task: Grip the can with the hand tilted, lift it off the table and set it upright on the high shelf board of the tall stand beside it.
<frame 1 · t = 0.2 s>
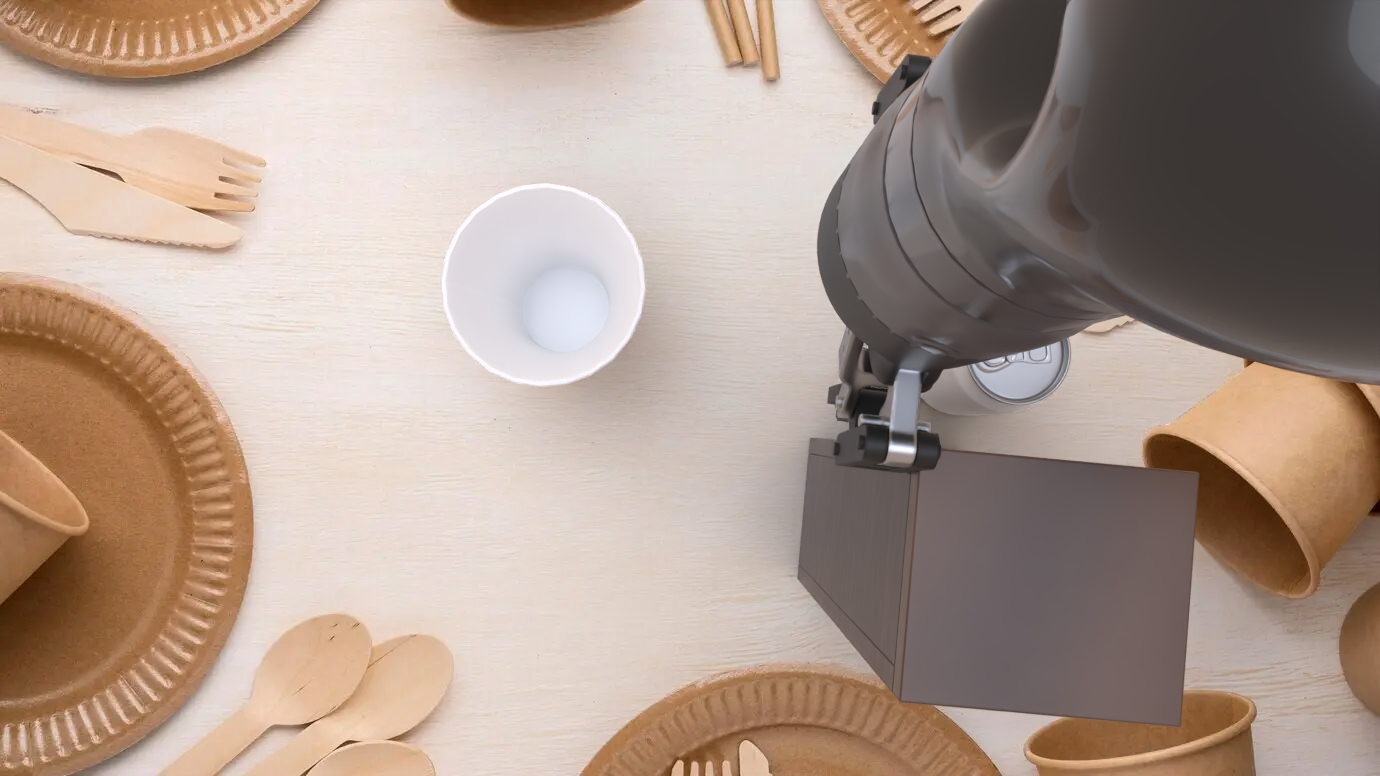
hand: (863, 298, 45), 23 cm above the table, tool pointing down, fingers open, 8 cm apart
cup: (569, 313, 67), on the table
shelf frame: (881, 515, 67), on the table
can: (956, 365, 68), on the table
shelf: (1044, 584, 38), resting on shelf frame
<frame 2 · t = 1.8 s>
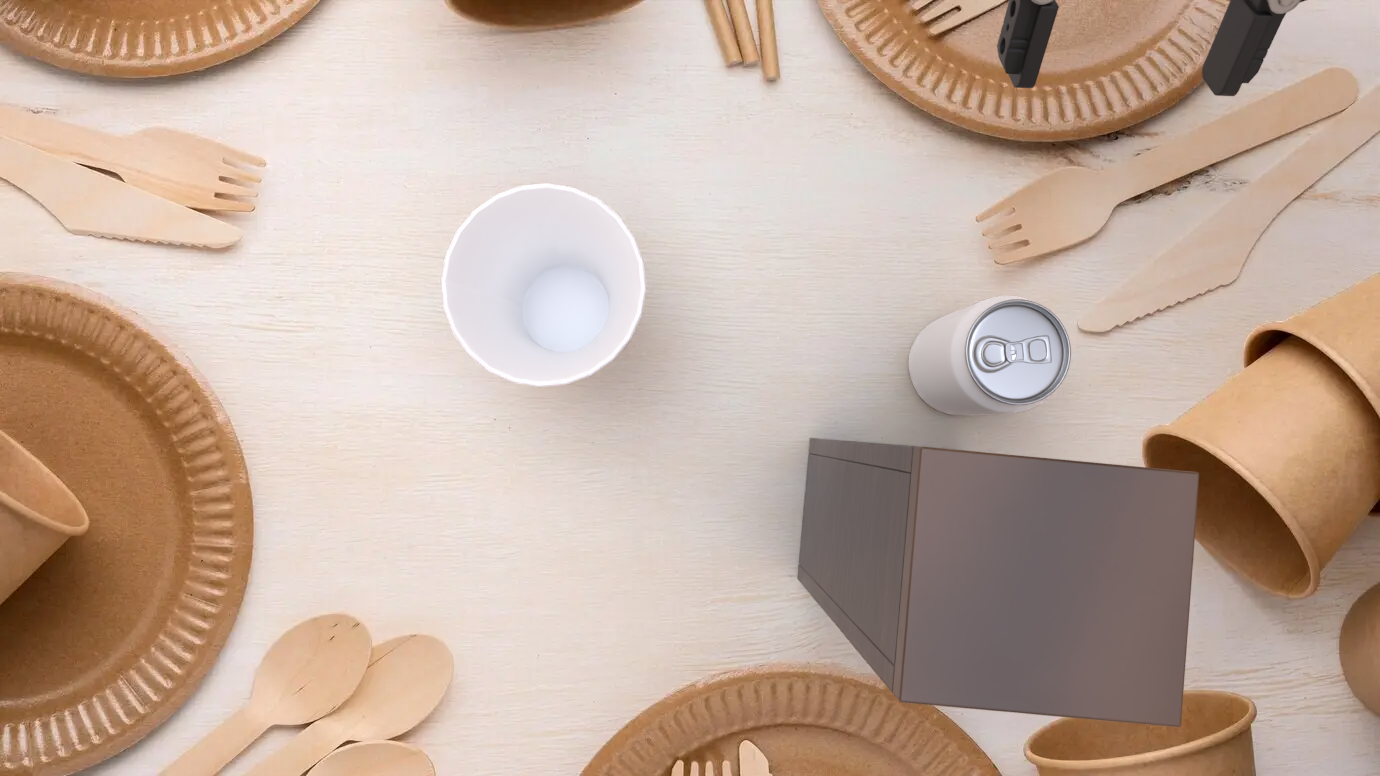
hand: (1118, 83, 45), 23 cm above the table, tool tilted 45°, fingers open, 8 cm apart
nothing on the table moved.
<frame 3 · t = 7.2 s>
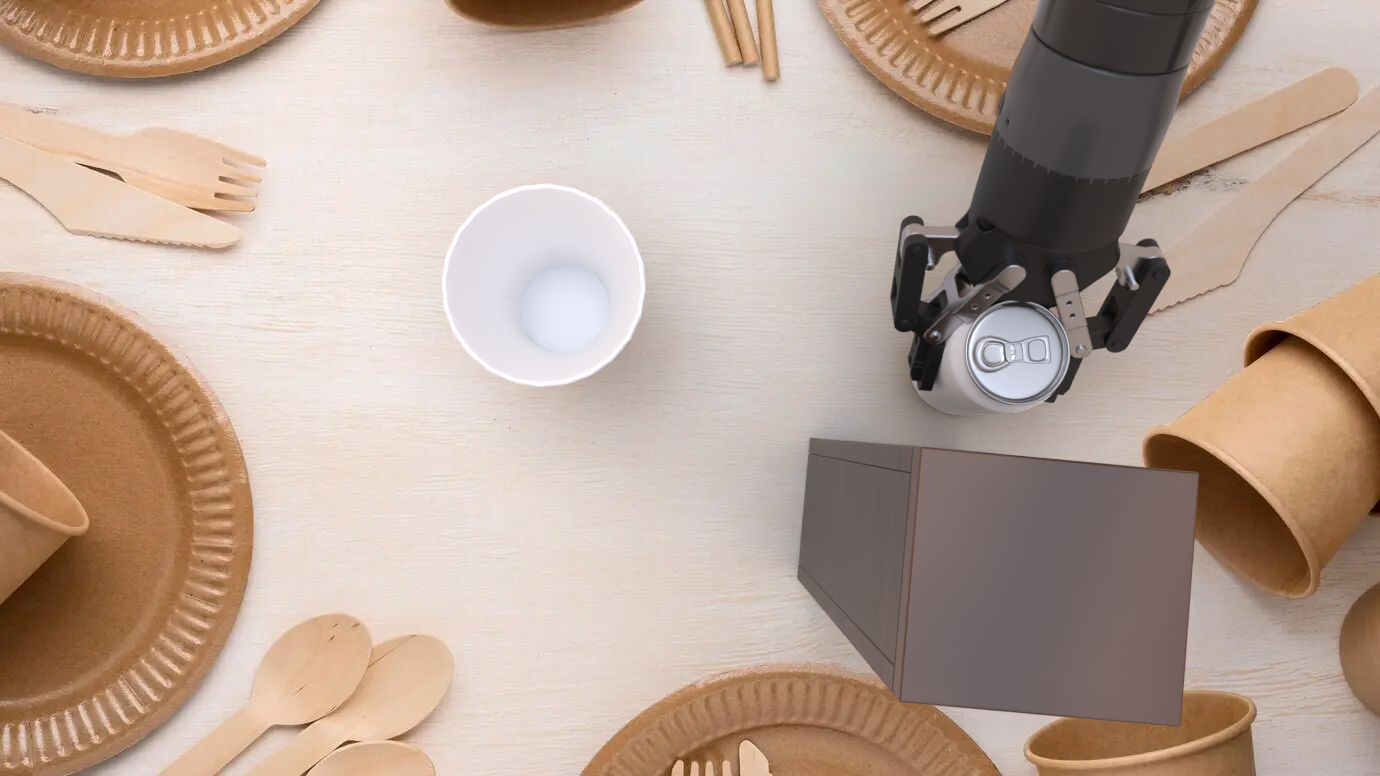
hand: (983, 386, 61), 6 cm above the table, tool tilted 45°, fingers closed on can, 6 cm apart
can: (956, 365, 68), on the table, touching gripper
everything else where it was.
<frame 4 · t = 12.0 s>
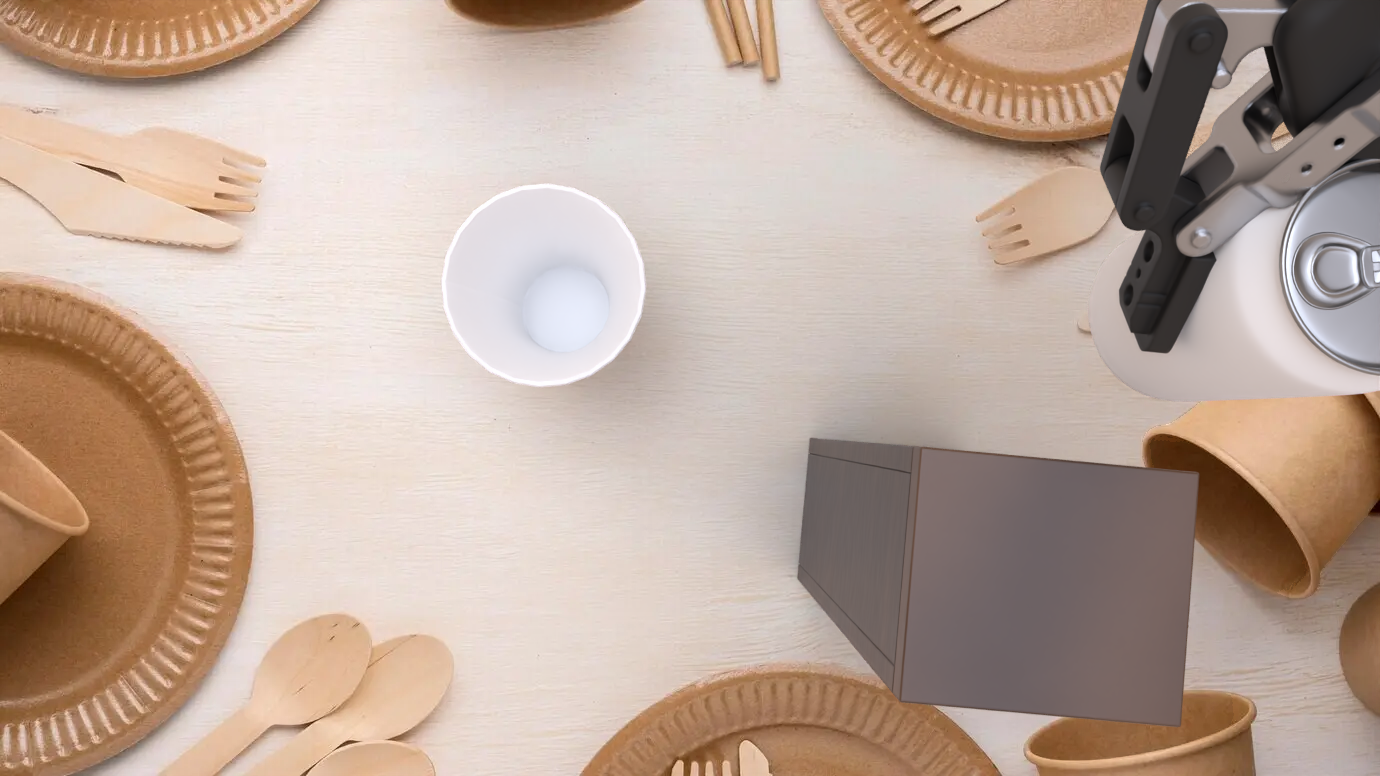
hand: (1261, 345, 32), 35 cm above the table, tool tilted 45°, fingers closed on can, 6 cm apart
can: (1168, 314, 39), point 29 cm above the table, touching gripper
everything else where it was.
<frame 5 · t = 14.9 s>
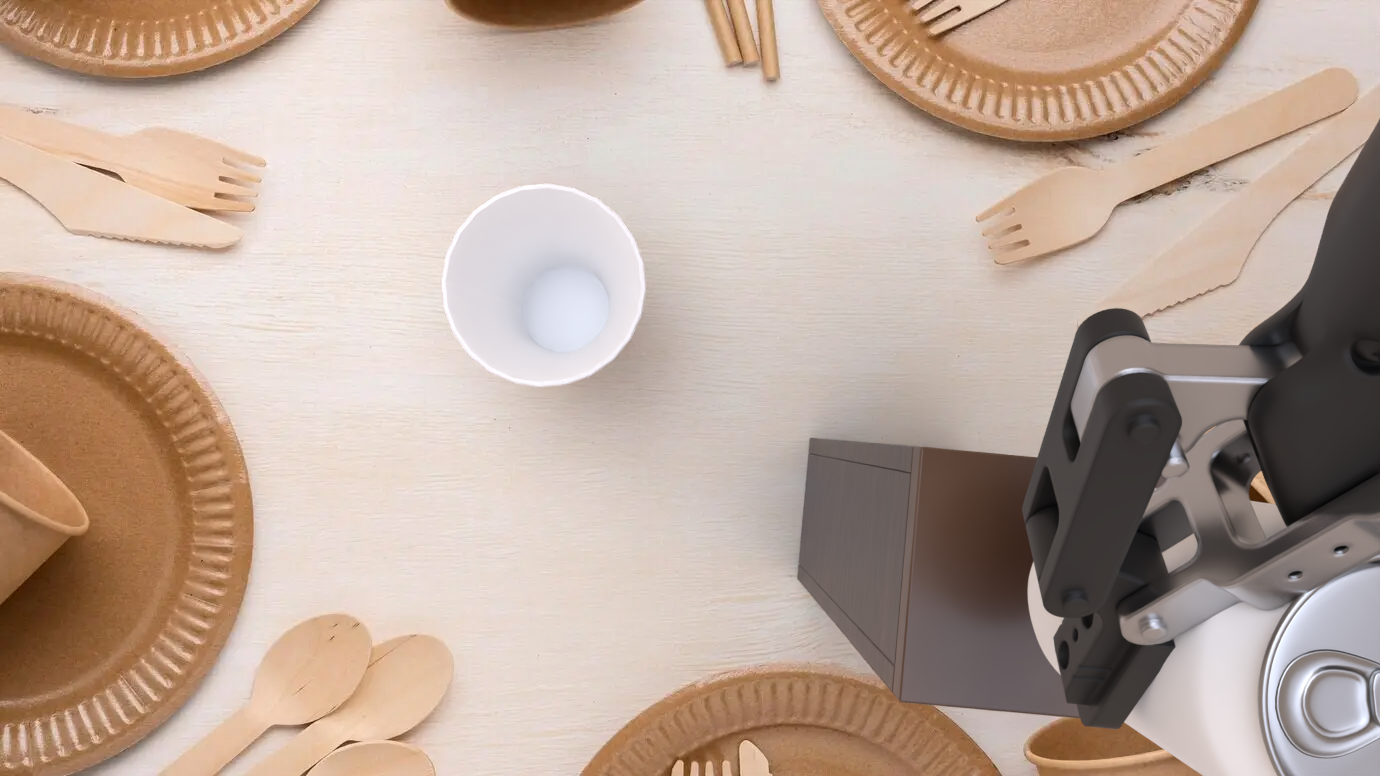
hand: (1238, 706, 25), 42 cm above the table, tool tilted 45°, fingers closed on can, 6 cm apart
can: (1128, 593, 31), point 36 cm above the table, touching gripper
everything else where it was.
when the fingers open (36 cm above the table, at t = 17.2 s): can stays where it is, resting on shelf.
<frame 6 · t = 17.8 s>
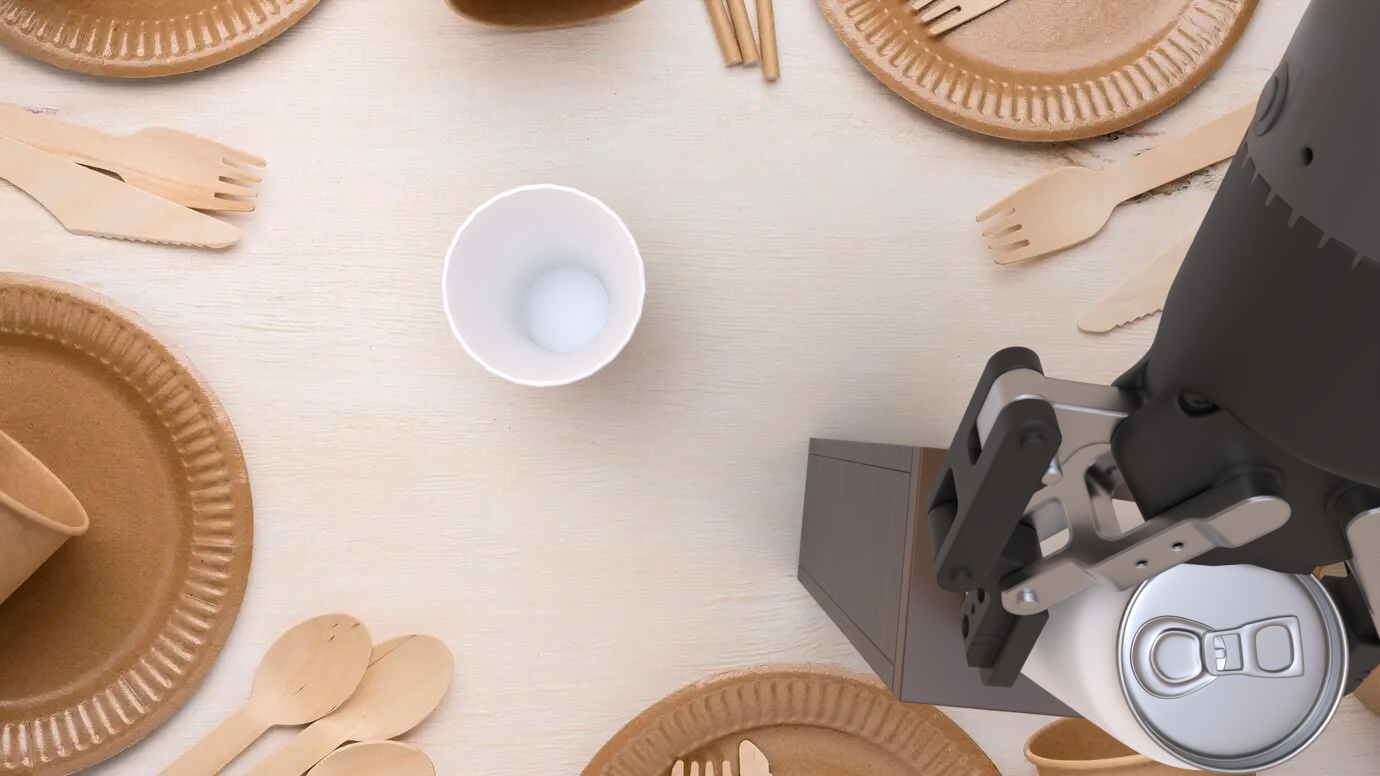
hand: (1139, 673, 30), 37 cm above the table, tool tilted 45°, fingers open, 8 cm apart
can: (1050, 581, 37), point 30 cm above the table, touching shelf
everything else where it was.
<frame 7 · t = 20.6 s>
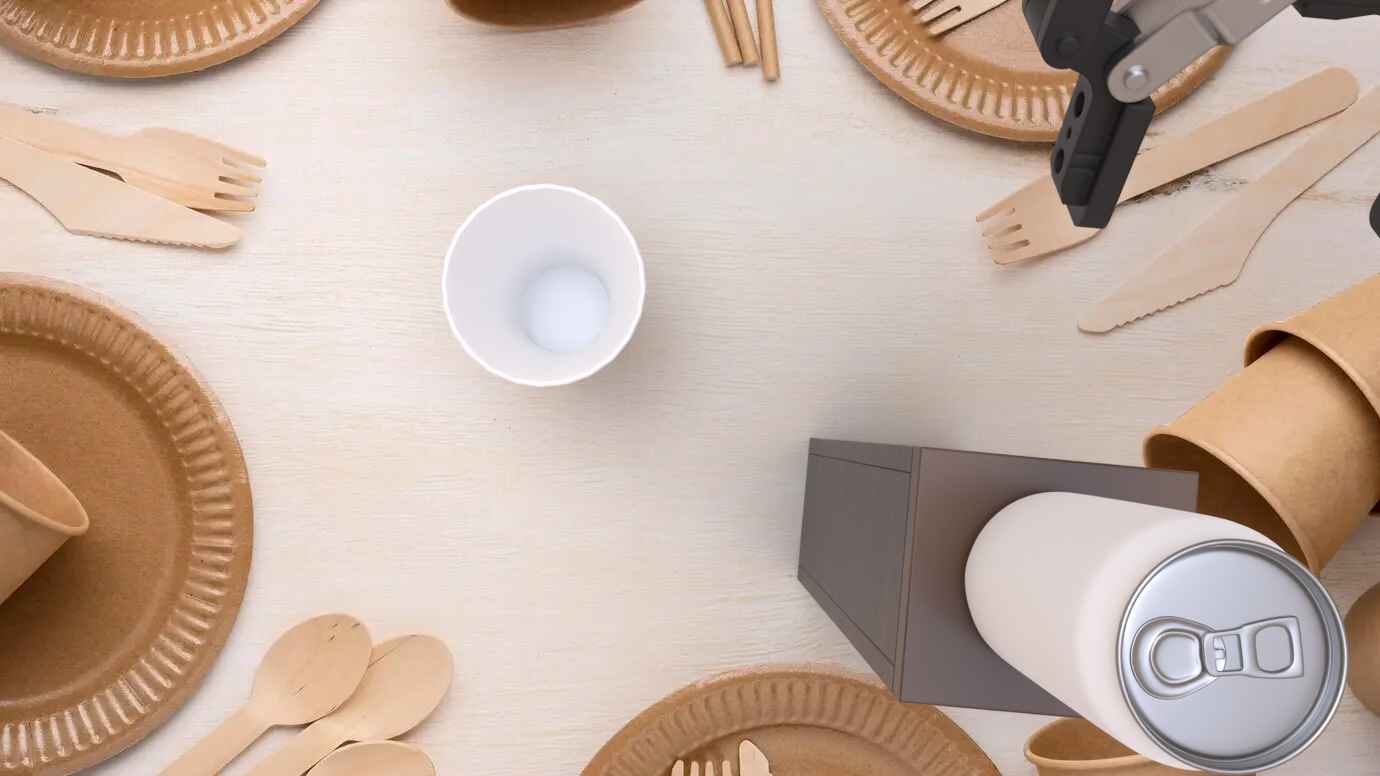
hand: (1238, 227, 28), 39 cm above the table, tool tilted 45°, fingers open, 8 cm apart
nothing on the table moved.
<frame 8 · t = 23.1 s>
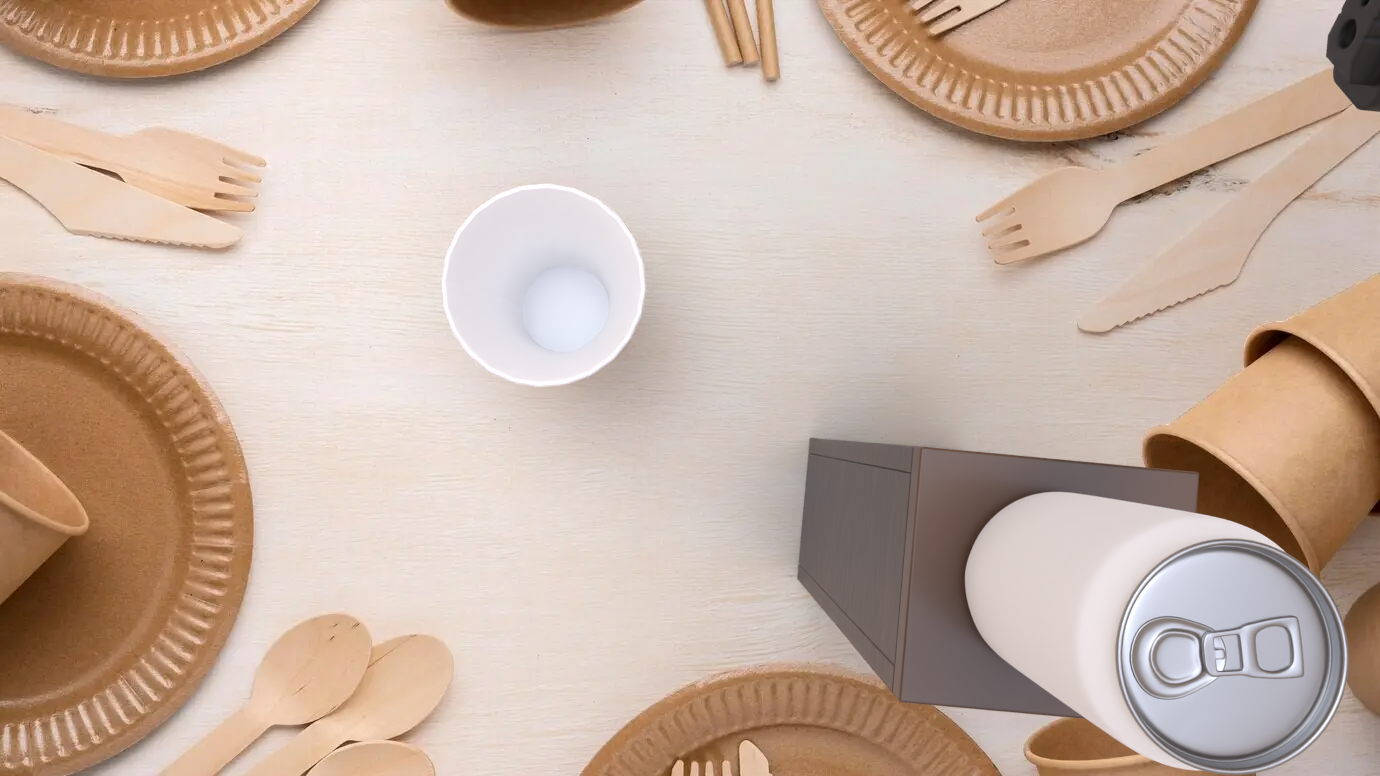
nothing on the table moved.
at the end: can inside the target area on the shelf (0.2 cm from its centre), point 0.4 cm above the shelf's base; can tilted 0°; the gripper is holding nothing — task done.
